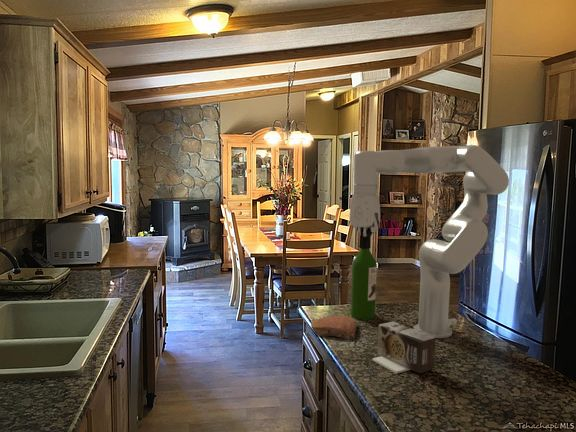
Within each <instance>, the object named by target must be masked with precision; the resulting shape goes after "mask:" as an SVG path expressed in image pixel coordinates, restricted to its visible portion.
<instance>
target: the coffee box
mask: <svg viewBox="0 0 576 432" xmlns="http://www.w3.org/2000/svg"><path fill="white" fill-rule="evenodd" d="M377 330H378V332H377V333H378V335H377V336H378V338H377V354H378V355H379V356H380V357H381V356H383V357H385V358H387V359H390V360H392V361H394V362H396V363H398V364H400V365H402V366H404V367H407V368H409V369H411V370H410V371H413V372H415V373H418V374H422V373H425V372H427V371H430V370H433V369H435V362H436V361H435V357H436V341H437V340H436V339H437V338H435V337H432V336H429V335H427V334H424V333H422V332H419V331H417V330H414V329H413V328H411V327H409V326H406V325H403V324H400V323H399V322H396V321H389V322H385V323H380V324H378V329H377Z"/></svg>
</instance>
